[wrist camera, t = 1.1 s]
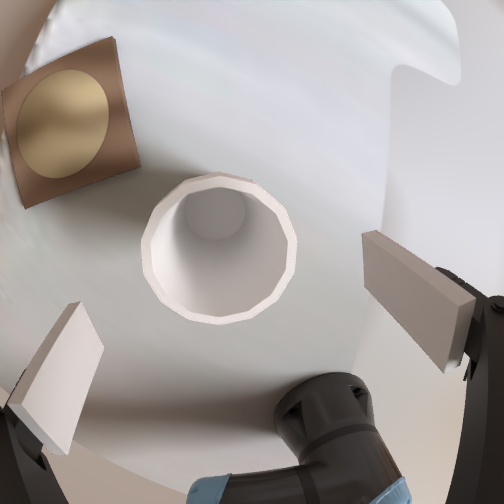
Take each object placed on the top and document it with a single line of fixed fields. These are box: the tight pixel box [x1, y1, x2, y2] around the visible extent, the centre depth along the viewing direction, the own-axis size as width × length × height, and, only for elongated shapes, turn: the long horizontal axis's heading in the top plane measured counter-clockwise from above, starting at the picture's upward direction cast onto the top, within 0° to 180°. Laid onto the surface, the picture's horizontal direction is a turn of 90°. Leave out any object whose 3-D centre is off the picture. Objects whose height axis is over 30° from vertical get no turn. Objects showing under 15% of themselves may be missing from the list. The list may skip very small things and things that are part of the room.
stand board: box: [1, 36, 141, 209], centre depth 24 cm, size 14×14×2 cm
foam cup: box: [141, 172, 298, 325], centre depth 24 cm, size 10×9×13 cm
